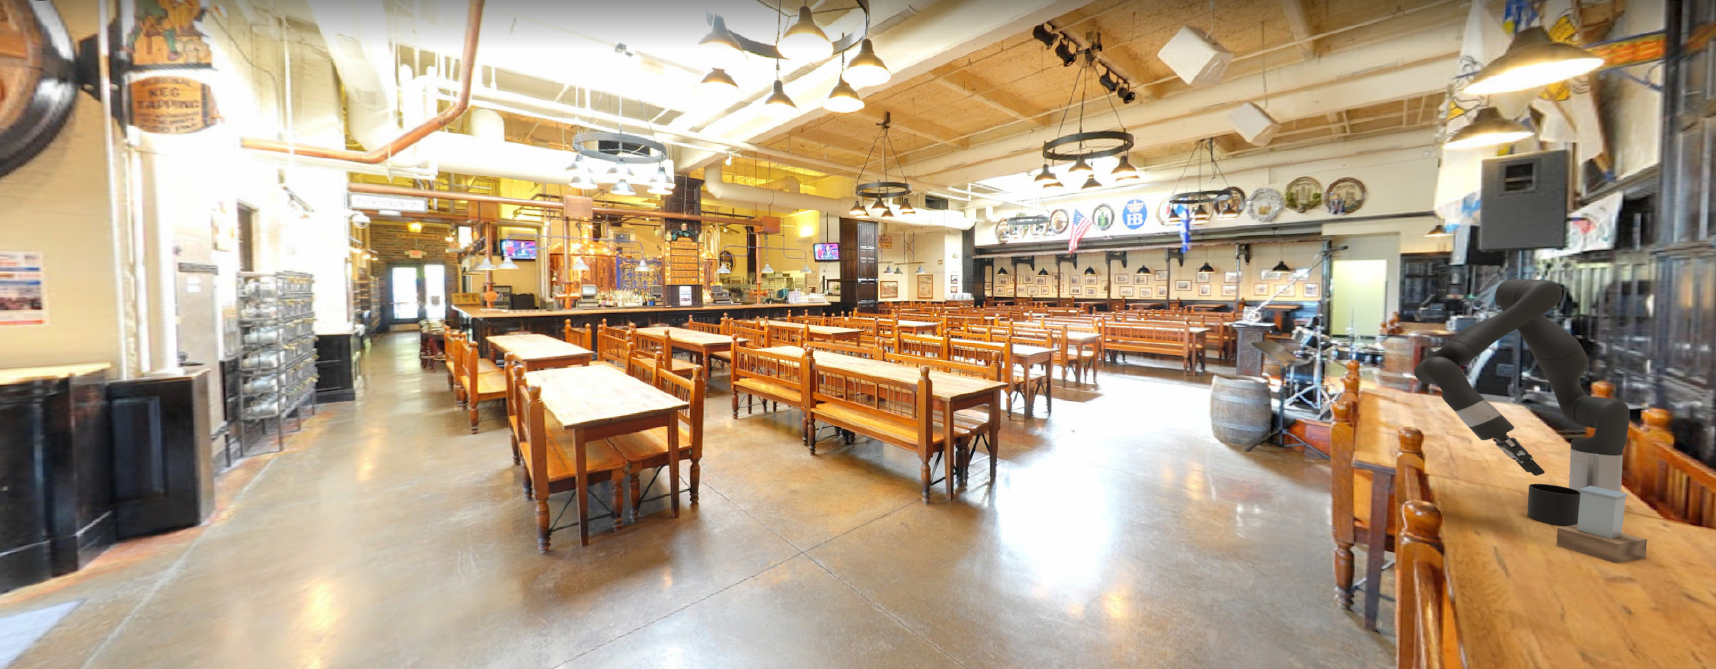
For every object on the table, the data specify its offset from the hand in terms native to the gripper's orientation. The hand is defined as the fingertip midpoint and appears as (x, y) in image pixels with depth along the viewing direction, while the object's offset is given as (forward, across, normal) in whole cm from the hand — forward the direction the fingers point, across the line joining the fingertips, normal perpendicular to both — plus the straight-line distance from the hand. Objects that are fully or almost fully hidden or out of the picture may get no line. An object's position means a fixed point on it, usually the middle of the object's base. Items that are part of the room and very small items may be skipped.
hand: (1536, 472), depth 149 cm
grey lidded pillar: (+16, -5, 0) cm, 16 cm away
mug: (+15, +18, +4) cm, 24 cm away
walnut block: (+20, -4, +3) cm, 21 cm away
